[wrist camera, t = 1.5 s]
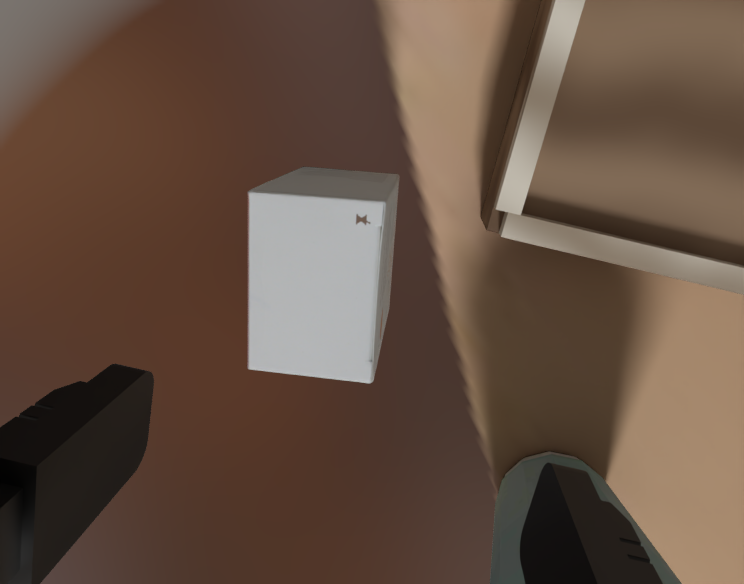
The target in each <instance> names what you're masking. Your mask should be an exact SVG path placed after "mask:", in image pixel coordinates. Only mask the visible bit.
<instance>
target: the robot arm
mask: <svg viewBox="0 0 744 584" xmlns="http://www.w3.org/2000/svg"><path fill="white" fill-rule="evenodd" d="M153 386H154V378H153V374H152V373H151V372H149V371H145V370H141V369H136V368H132V367H127V366H123V365H118V364H112V365H110V366H109V367H107V368H106V369H105V370H103V371H102V372H101V373H99V374H98V375H97V376H95V377H94V378H93V379H91V380H90V381H89V382H87V383H86V382H82V381H79V382H76V383H73V384H70V385H67V386H64V387H61V388H59V389H55V390H53V391H52V392H50V393H49V394H48V395H46V396H45V397H43V398H42V399H40V400H39V401H38V402H36V404H35V406H30V407H29V408H27V409H26V410H25V411H23V412H22V413H20V415H19V417H15V418H13V419H12V420H10V421H9V422H7V423H6V424H5V425H3V426H2V427H0V584H40V583H41V582H42V581H43V579H44V578H45V577H46V576H47V575H48V574H49V573H50V571H51V570H52V569H53V568H54V567H55V565H56V564H57V563H58V562H59V561H60V560H61V558H62V557H63V556H64V555H65V554H66V552H67V551H68V550H69V549H70V548H71V547H72V546H73V544H74V543H75V542H76V541H77V540H78V538H79V537H80V536H81V535H82V534H83V533H84V531H85V530H86V529H87V528H88V527H89V526H90V524H91V523H92V522H93V521H94V520H95V518H96V517H97V516H98V515H99V514H100V513H101V511H102V510H103V509H104V508H105V507H106V506H107V504H108V503H109V502H110V501H111V500H112V498H113V497H114V496H115V495H116V494H117V493H118V491H119V490H120V489H121V488H122V487H123V485H124V484H125V483H126V482H127V481H128V480H129V478H130V477H131V476H132V475H133V474H134V473H135V471H136V470H137V468H138V467H139V465H140V463H141V461H142V458H143V456H144V453H145V450H146V446H147V441H148V433H149V424H150V414H151V405H152V396H153V395H152V394H153ZM520 562H521V567H522V571H523V575H524V580H525V584H663V583H662V581H661V579H660V577H659V575H658V573H657V572H656V570H655V568H654V566H653V564H650V558H649V556H648V555H647V553H646V551H645V549H644V547H643V546H641V541H640V539H639V538H638V536H637V534H636V532H635V530H634V528H633V526H632V524H631V522H630V521H629V520H628V519H627V518H626V517H625V516H624V515H623V514H622V513H621V512H620V511H619V510H618V509H617V508H616V507H615V506H614V505H613V504H612V503H611V502H606V501H602V500H601V499H600V497H599V495H598V493H597V491H596V489H595V487H594V485H593V482H592V480H591V478H590V476H589V474H588V473H587V472H586V471H584V470H580V469H576V468H571V467H567V466H562V465H558V464H553V463H546V464H545V465H544V467H543V468H542V471H541V473H540V476H539V479H538V482H537V485H536V489H535V492H534V495H533V498H532V501H531V504H530V507H529V510H528V513H527V516H526V519H525V522H524V526H523V529H522V533H521V540H520Z"/></svg>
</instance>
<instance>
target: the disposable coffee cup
mask: <svg viewBox="0 0 744 584" xmlns="http://www.w3.org/2000/svg"><path fill="white" fill-rule="evenodd" d="M546 463H553V464H558V465H562V466H567V467H571V468H576V469H580V470H584V471H586V472H587V473H588V474H589V476H590V478H591V480H592V482H593V485H594V487H595V489H596V491H597V493H598V495H599V497H600V499H601V500H602V501H606V502H611V503H612V504H613V505H614V506H615V507H616V508H617V509H618V510H619V511H620V512H621V513H622V514H623V515H624V516H625V517H626V518H627V519H628V520H629V521H630V522H631V524H632V526H633V528H634V530H635V532H636V534H637V536H638V538H639V539H640V541H641V546H643V547H644V549H645V551H646V553H647V555H648V556H649V558H650V564H653V566H654V568H655V570H656V572H657V573H658V575H659V577H660V579H661V581H662V583H663V584H682V583H681V582H680V581H679V579H678V578H677V577H676V575H675V574H674V573H673V571H672V570H671V569H670V567H669V566H668V565H667V563H666V562H665V561H664V559H663V558H662V557H661V555H660V554H659V553H658V551H657V550H656V549H655V547H654V546H653V545H652V543H651V542H650V541H649V539H648V538H647V537H646V535H645V534H644V533H643V531H642V530H641V529H640V527H639V526H638V525H637V523H636V522H635V521H634V519H633V518H632V517H631V515H630V514H629V513H628V511H627V510H626V509H625V507H624V506H623V505H622V503H621V502H620V501H619V499H618V498H617V497H616V495H615V494H614V492H613V491H612V490H611V488H610V487H609V486H608V484H607V483H606V482H605V480H604V479H603V478H602V477H601V476H600V475H599V474H597V473H596V472H595V471H594V470H593V469H591V468H590V467H589V466H588V465H587V464H585V463H584V462H583V461H582V460H579V459H577V458H576V457H575V456H570V455H565V454H560V453H555V452H550V451H549V452H545V453H541V454H537V455H533V456H529V457H525V458H523V459H522V460H521V461H519V462H518V463H517V464H516V465H515V466H514V467H513V468H512V469H510V470H509V471H508V472H507V473H506V474H505V477H504V478H503V479H502V482H501V485H500V489H499V492H498V496H497V499H496V503H495V518H494V533H493V547H492V563H491V578H490V584H525V580H524V575H523V571H522V567H521V562H520V540H521V533H522V529H523V526H524V522H525V519H526V516H527V513H528V510H529V507H530V504H531V501H532V498H533V495H534V492H535V489H536V485H537V482H538V479H539V476H540V473H541V471H542V468H543V467H544V465H545V464H546Z"/></svg>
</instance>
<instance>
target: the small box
mask: <svg viewBox="0 0 744 584" xmlns="http://www.w3.org/2000/svg"><path fill="white" fill-rule="evenodd" d="M398 187H399V175H398V174H390V173H377V172H365V171H352V170H340V169H328V168H316V167H301V168H299V169H297V170H294V171H292V172H290V173H287V174H285V175H283V176H281V177H278V178H276V179H274V180H272V181H269V182H267V183H264V184H263V185H260V186H258V187H256V188H254V189H252V190H250V191H248V364H247V368H248V369H251V370H260V371H269V372H277V373H286V374H295V375H302V376H311V377H320V378H328V379H337V380H345V381H355V382H363V383H371V382H373V380H374V375H375V371H376V367H377V362H378V357H379V352H380V348H381V343H382V338H383V333H384V328H385V324H386V320H387V315H388V311H389V304H390V290H391V276H392V262H393V250H394V237H395V224H396V212H397V198H398Z"/></svg>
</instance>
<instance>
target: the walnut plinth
mask: <svg viewBox="0 0 744 584" xmlns="http://www.w3.org/2000/svg"><path fill="white" fill-rule="evenodd" d="M481 219H482V221H483V223H484V225H485V227H486V230H488V231H492V232H496V233H499V234H500V236H501V237H504V238H508V239H512V240H516V241H520V242H524V243H529V244H533V245H537V246H541V247H545V248H550V249H554V250H558V251H562V252H566V253H571V254H575V255H579V256H583V257H587V258H592V259H596V260H600V261H604V262H608V263H613V264H617V265H621V266H625V267H629V268H634V269H638V270H642V271H646V272H650V273H655V274H659V275H663V276H667V277H671V278H676V279H680V280H684V281H688V282H692V283H697V284H701V285H705V286H709V287H713V288H718V289H722V290H726V291H730V292H734V293H739V294H743V295H744V0H541V3H540V7H539V11H538V14H537V18H536V21H535V25H534V28H533V32H532V36H531V39H530V43H529V46H528V50H527V53H526V57H525V61H524V64H523V68H522V71H521V75H520V78H519V82H518V86H517V89H516V93H515V96H514V100H513V103H512V107H511V111H510V114H509V118H508V121H507V125H506V129H505V132H504V136H503V139H502V143H501V146H500V150H499V154H498V157H497V161H496V164H495V168H494V171H493V175H492V179H491V182H490V186H489V189H488V193H487V196H486V200H485V204H484V207H483V211H482V214H481Z"/></svg>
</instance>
